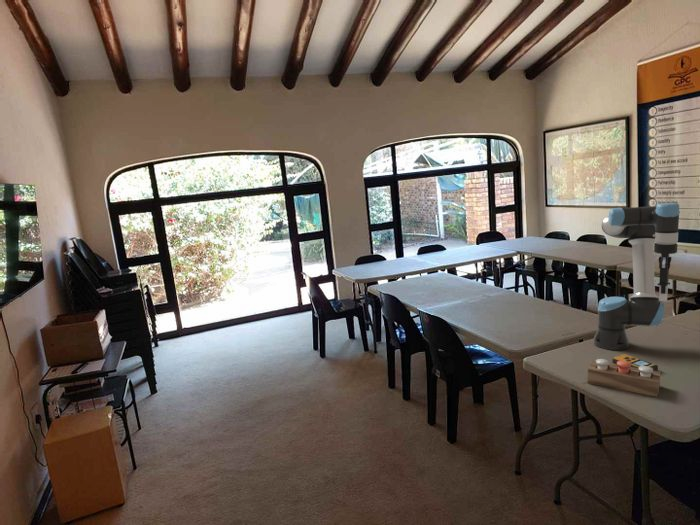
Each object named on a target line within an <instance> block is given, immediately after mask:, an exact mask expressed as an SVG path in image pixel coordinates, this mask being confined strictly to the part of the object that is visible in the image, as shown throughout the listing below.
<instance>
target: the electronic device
mask: <svg viewBox="0 0 700 525" xmlns="http://www.w3.org/2000/svg"><path fill="white" fill-rule="evenodd" d="M611 360H612V364H616V365H617V362H618V361H627V362H629V363H631V367H634V368H639V367H640V366H648V367H651V368H653V371H658V370H659V366H658V365H657V364H654V363H651V362H648V361H646V360H643V359H640V358H636V357H634V356H630V355H628V354H623V353H622V354H619V355H617V356H613V357H612V359H611ZM658 372H659V371H658Z"/></svg>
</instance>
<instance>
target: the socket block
mask: <svg viewBox="0 0 700 525" xmlns="http://www.w3.org/2000/svg"><path fill="white" fill-rule="evenodd" d="M587 384H589V385H590V384H591V385H597V386H600V387H607V388H610V389H611V388H612V389H615V390H616V389H617V390H622V391H627V392H631V393H638V394H643V395H646V396H647V395H648V396H654V397H658V395H659V390H660V387H661V371H653V373H651V378H649V377H643V376H640V371H639V368H634V367H630V368H629V374H626V373H621V372H618V366H617V364H614V363H611V362H609V365H608V370H603V369H598V365H597V364H596V360H592V362H591V363H590V366H589V367H588V368H587Z"/></svg>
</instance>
